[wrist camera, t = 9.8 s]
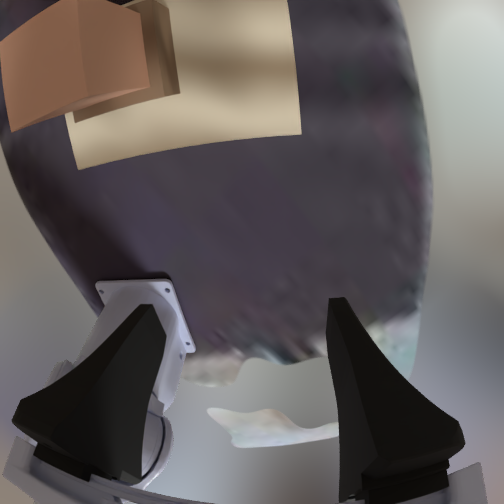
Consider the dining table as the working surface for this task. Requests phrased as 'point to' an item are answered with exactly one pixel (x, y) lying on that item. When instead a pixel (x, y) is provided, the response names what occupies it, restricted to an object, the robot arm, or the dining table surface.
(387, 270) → the dining table surface
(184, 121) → the board
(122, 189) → the dining table surface
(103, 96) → the top block
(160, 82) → the base block
